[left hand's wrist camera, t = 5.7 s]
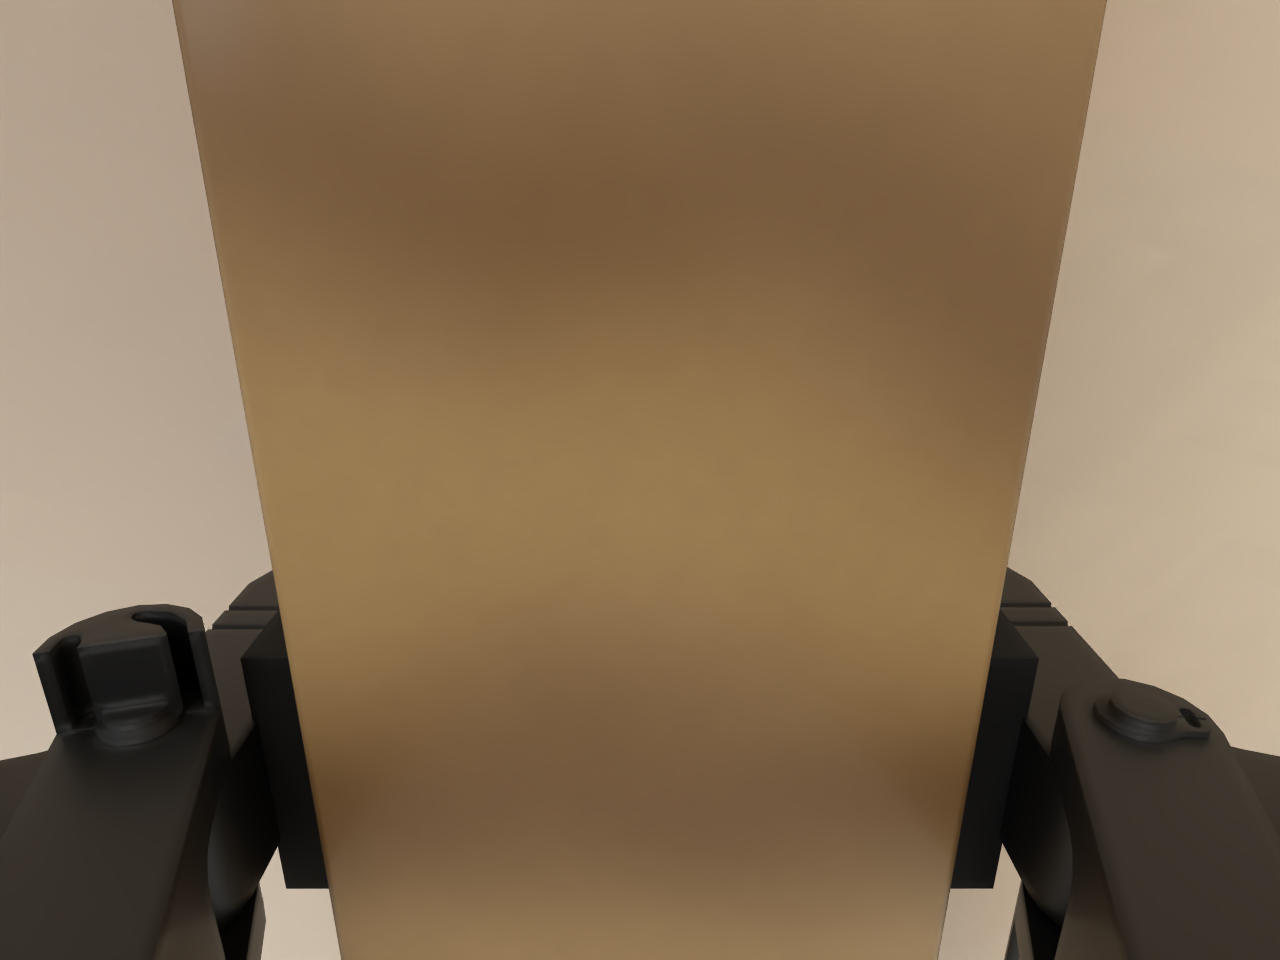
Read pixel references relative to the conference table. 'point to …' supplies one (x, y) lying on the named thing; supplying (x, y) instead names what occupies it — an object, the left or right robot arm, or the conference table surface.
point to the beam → (639, 444)
